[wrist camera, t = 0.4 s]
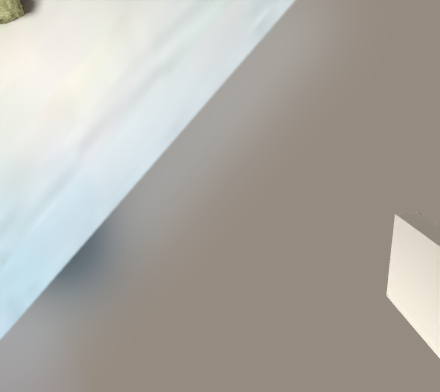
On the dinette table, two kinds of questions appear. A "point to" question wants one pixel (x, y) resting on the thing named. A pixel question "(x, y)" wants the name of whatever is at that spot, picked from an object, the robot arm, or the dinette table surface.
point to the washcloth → (10, 10)
